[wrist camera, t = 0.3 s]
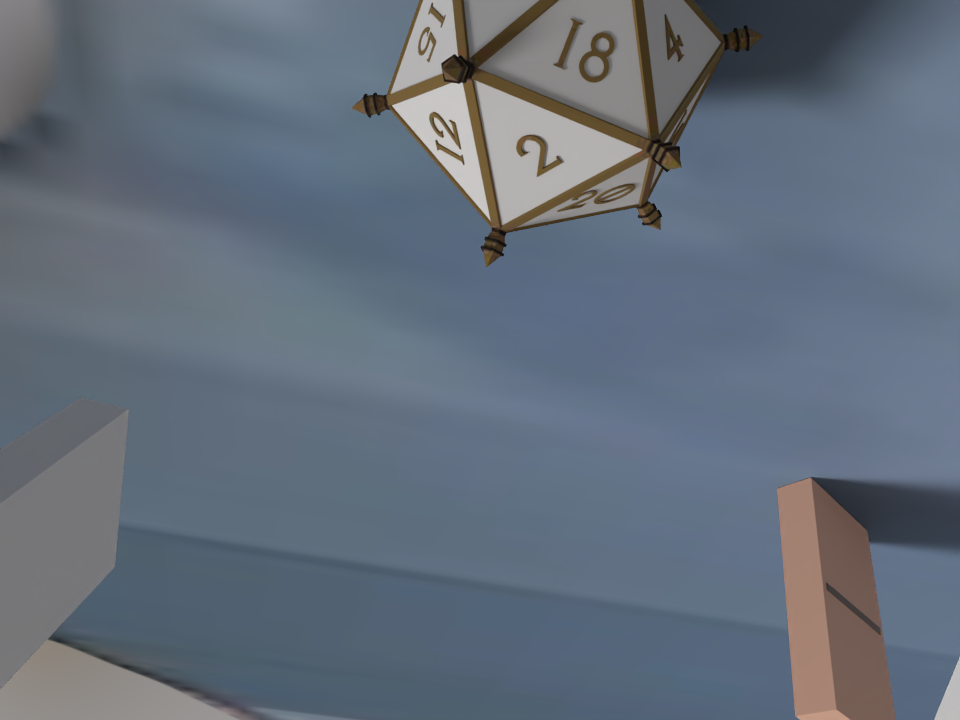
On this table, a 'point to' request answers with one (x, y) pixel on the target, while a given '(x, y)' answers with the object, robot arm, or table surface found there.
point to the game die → (553, 101)
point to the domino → (831, 610)
